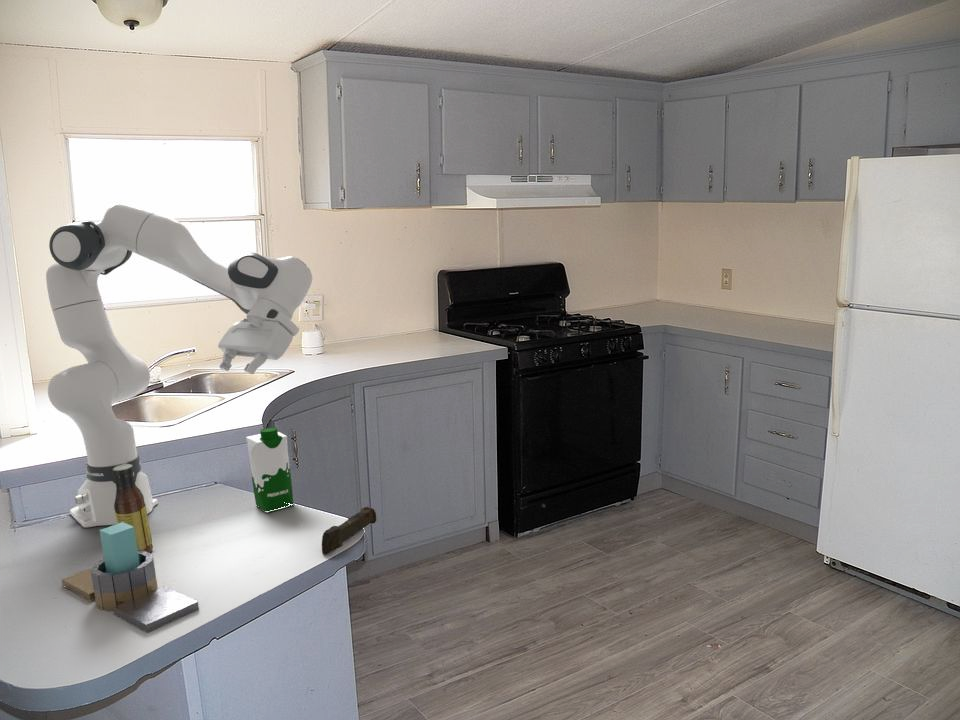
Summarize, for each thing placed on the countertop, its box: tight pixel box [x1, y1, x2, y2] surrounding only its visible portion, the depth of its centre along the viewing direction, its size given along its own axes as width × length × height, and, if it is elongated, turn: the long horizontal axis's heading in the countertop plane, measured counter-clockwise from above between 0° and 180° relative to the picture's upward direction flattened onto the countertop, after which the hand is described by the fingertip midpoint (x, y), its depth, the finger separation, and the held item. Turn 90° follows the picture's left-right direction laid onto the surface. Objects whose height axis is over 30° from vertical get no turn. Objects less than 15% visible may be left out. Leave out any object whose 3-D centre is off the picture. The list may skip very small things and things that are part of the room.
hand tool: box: [321, 506, 377, 555], centre depth 178 cm, size 19×4×5 cm, turn 154°
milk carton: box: [245, 427, 294, 512], centre depth 199 cm, size 9×9×20 cm
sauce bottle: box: [113, 464, 154, 553], centre depth 175 cm, size 6×6×20 cm
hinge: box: [61, 551, 200, 634], centre depth 155 cm, size 34×11×7 cm, turn 50°
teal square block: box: [99, 522, 140, 573], centre depth 155 cm, size 4×4×14 cm
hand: (235, 371), depth 178 cm, fingers open, 8 cm apart
